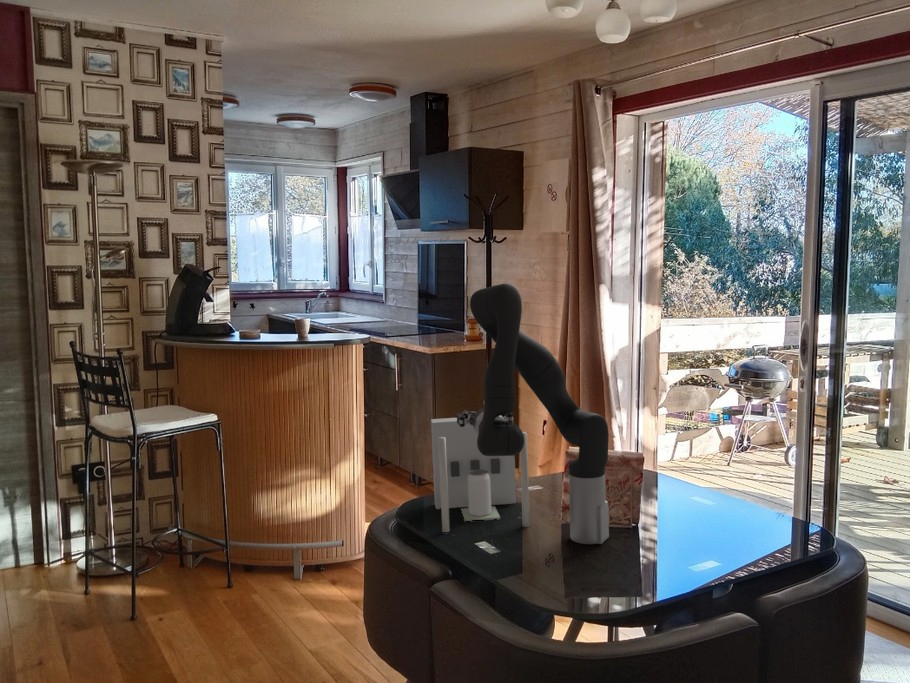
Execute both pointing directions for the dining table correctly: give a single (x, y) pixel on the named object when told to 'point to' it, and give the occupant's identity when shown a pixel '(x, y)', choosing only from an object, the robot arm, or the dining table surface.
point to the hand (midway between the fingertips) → (481, 412)
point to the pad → (470, 517)
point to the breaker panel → (469, 465)
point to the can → (479, 493)
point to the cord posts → (445, 484)
